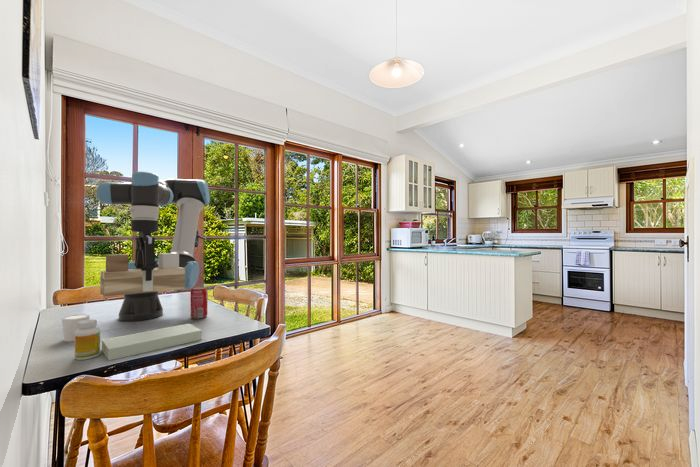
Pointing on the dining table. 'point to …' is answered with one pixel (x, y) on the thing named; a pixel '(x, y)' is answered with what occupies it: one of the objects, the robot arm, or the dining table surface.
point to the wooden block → (140, 281)
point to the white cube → (168, 260)
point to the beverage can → (199, 302)
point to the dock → (149, 341)
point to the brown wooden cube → (117, 263)
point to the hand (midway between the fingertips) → (144, 289)
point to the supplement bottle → (87, 340)
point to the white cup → (72, 326)
